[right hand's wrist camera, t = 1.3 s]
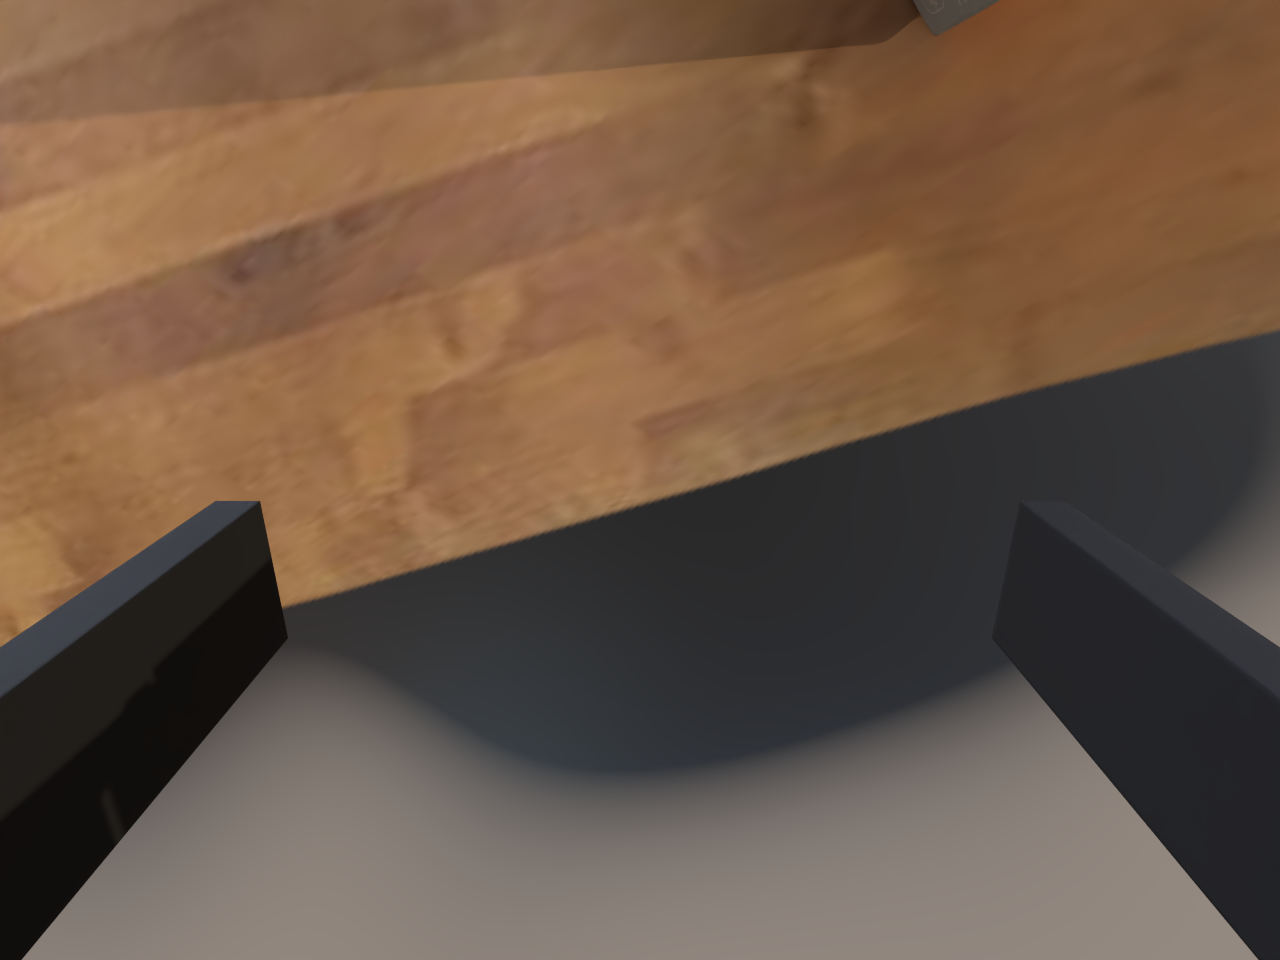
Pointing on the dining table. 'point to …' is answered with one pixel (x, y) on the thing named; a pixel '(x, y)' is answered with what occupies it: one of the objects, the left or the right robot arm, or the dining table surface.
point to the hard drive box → (949, 12)
